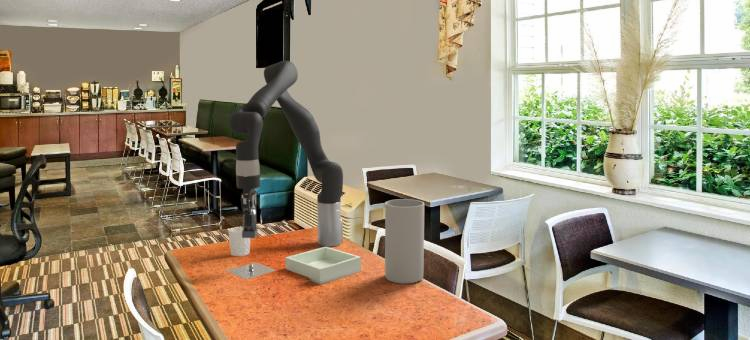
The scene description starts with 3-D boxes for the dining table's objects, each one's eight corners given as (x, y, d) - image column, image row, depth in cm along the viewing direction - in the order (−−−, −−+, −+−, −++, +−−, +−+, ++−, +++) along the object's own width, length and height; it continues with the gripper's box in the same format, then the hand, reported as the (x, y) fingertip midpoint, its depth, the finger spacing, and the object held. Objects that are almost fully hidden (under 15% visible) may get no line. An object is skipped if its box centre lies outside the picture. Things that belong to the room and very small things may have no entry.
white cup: (225, 257, 197) (224, 231, 196) (238, 251, 205) (237, 226, 203) (242, 260, 195) (241, 233, 193) (255, 254, 202) (254, 228, 200)
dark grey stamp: (245, 234, 180) (244, 207, 179) (257, 234, 180) (257, 207, 179) (242, 237, 176) (241, 210, 175) (254, 238, 176) (254, 210, 175)
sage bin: (325, 259, 195) (325, 246, 194) (361, 271, 182) (360, 256, 182) (285, 271, 182) (285, 257, 181) (320, 284, 169) (320, 269, 169)
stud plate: (256, 265, 188) (256, 256, 188) (276, 273, 180) (276, 264, 180) (225, 273, 180) (225, 264, 179) (245, 282, 172) (245, 272, 171)
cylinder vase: (412, 287, 167) (412, 208, 164) (377, 280, 174) (377, 204, 170) (429, 275, 178) (430, 201, 174) (396, 269, 184) (397, 197, 181)
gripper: (241, 170, 182) (243, 219, 185) (231, 176, 168) (233, 230, 171) (263, 170, 182) (265, 219, 185) (255, 176, 168) (257, 229, 171)
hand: (250, 224), depth 178 cm, fingers closed on dark grey stamp, 4 cm apart
